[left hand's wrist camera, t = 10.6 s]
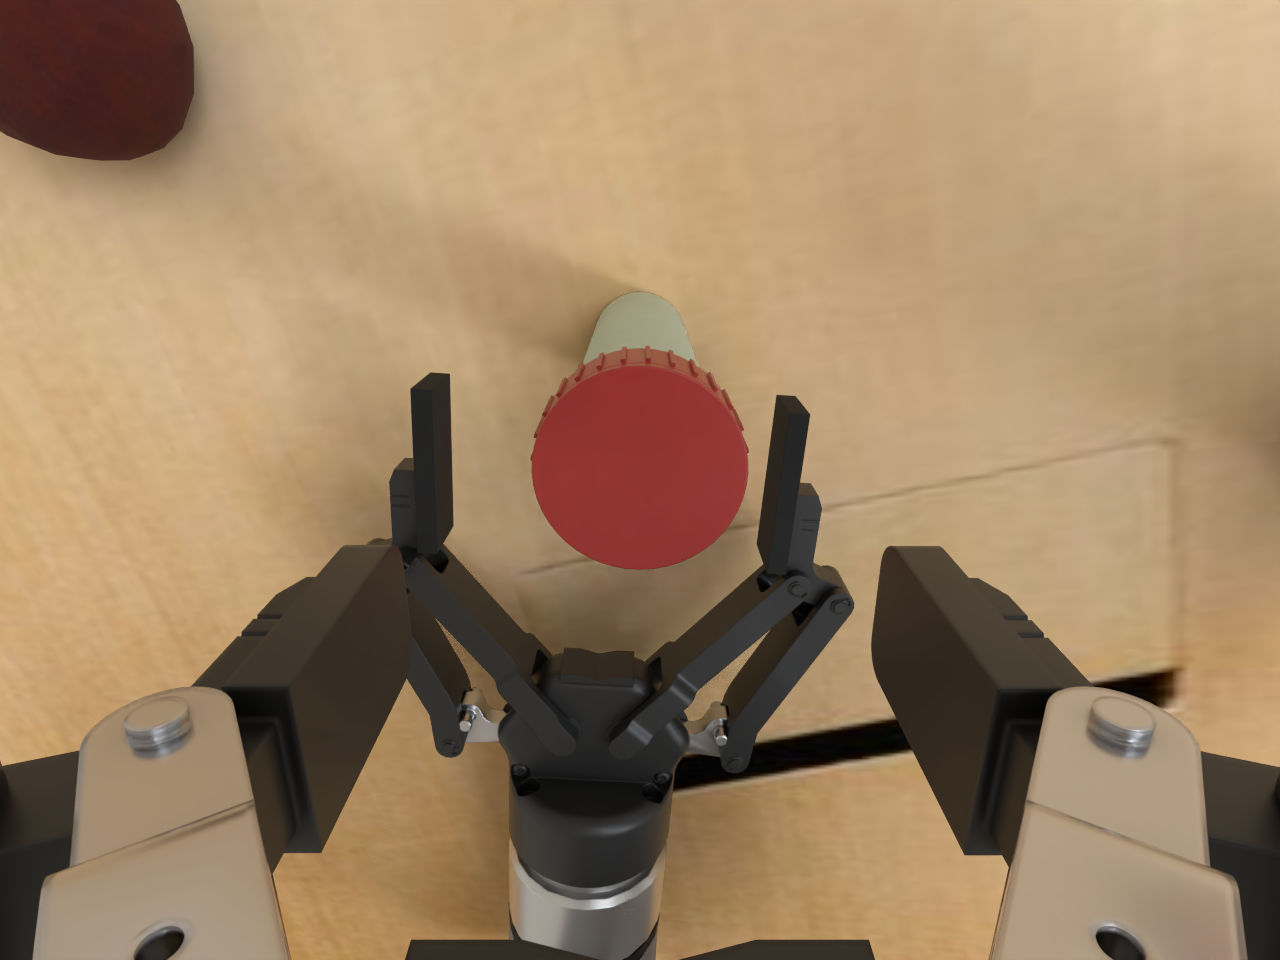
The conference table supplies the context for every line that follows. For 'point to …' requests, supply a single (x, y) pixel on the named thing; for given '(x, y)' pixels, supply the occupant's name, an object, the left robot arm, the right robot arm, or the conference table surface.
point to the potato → (94, 75)
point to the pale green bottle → (639, 327)
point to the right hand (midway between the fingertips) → (612, 391)
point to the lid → (639, 459)
